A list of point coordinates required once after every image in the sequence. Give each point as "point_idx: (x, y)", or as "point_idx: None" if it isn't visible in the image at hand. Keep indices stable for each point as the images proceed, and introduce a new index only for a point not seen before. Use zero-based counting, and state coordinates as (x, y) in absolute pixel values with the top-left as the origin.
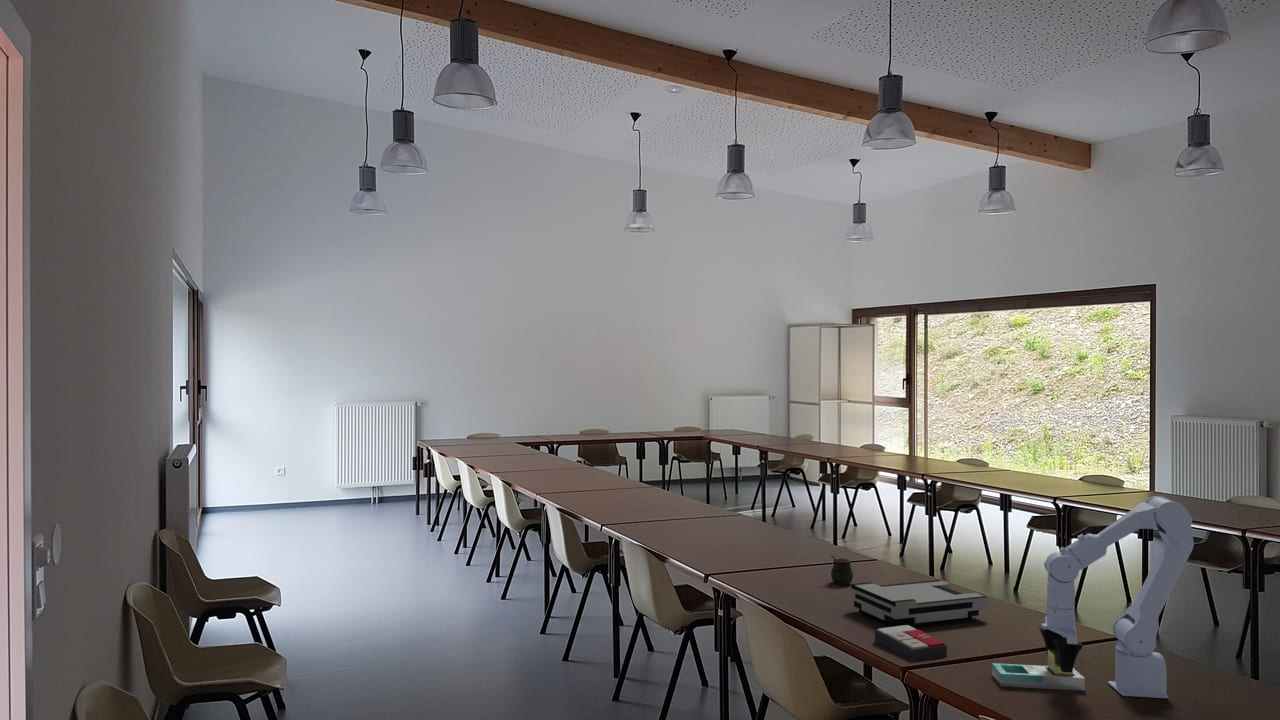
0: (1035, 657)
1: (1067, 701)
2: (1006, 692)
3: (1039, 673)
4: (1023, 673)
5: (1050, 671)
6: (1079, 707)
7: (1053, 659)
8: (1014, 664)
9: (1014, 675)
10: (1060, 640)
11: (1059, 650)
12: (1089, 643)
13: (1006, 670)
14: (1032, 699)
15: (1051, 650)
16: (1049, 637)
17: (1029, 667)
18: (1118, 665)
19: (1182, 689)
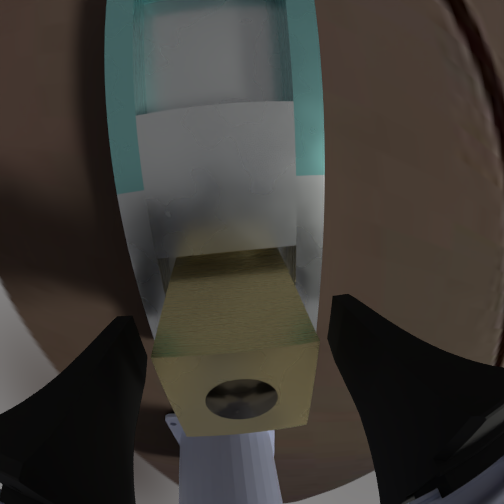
0: (487, 251)
1: (34, 252)
2: (60, 18)
3: (158, 181)
4: (133, 76)
5: (236, 261)
6: (7, 276)
7: (178, 324)
8: (315, 59)
9: (108, 27)
10: (29, 494)
11: (14, 407)
12: None
13: (278, 18)
14: (9, 119)
15: (283, 359)
16: (408, 414)
17: (275, 142)
18: (212, 481)
19: None
